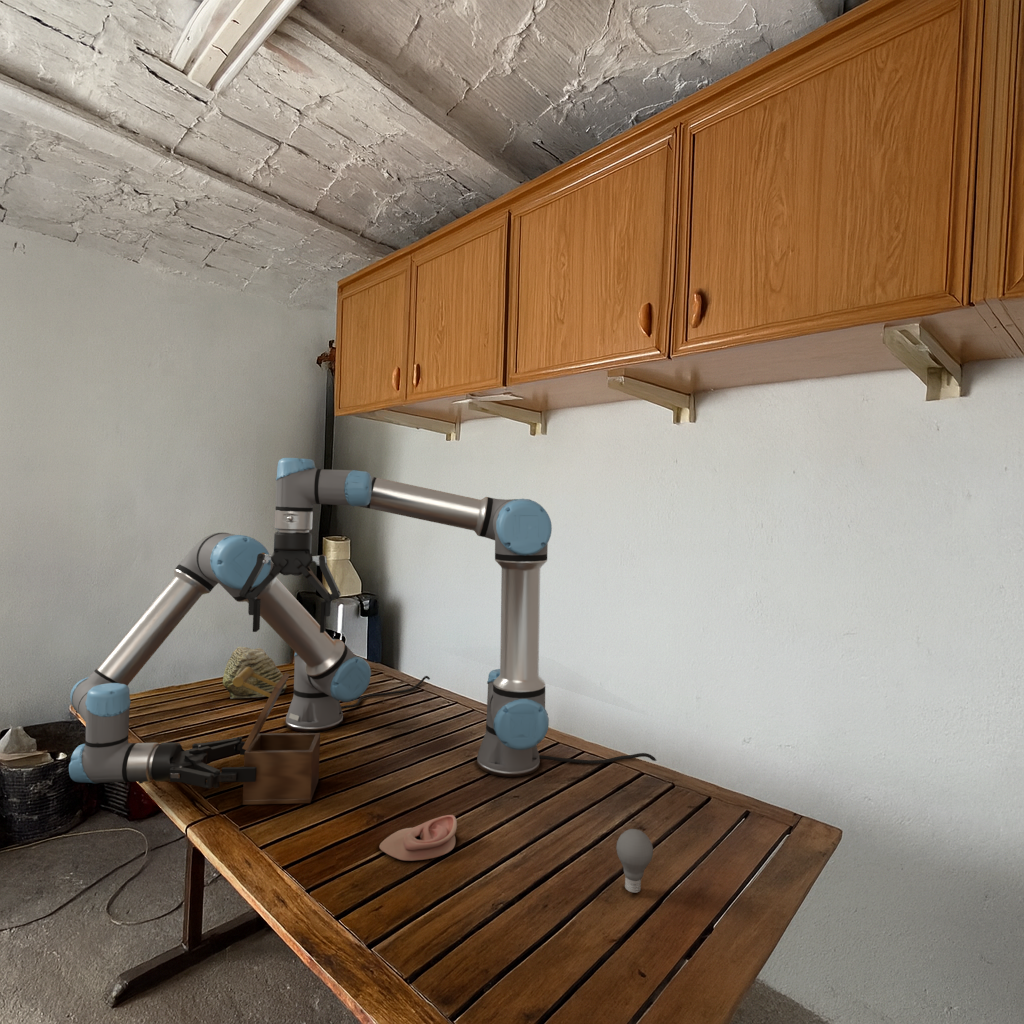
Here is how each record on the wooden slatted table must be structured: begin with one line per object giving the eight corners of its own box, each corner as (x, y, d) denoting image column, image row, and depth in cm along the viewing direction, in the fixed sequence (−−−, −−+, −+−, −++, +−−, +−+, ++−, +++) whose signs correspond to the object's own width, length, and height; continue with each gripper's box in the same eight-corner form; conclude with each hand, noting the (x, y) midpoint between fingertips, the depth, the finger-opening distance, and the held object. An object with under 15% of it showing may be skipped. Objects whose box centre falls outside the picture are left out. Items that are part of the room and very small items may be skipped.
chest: (318, 780, 141) (320, 732, 141) (310, 803, 131) (312, 751, 131) (255, 782, 139) (257, 733, 139) (242, 804, 129) (244, 752, 129)
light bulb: (610, 879, 108) (613, 822, 108) (644, 879, 109) (647, 822, 109) (619, 902, 102) (622, 840, 102) (655, 901, 103) (658, 840, 103)
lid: (290, 674, 140) (251, 656, 138) (279, 688, 129) (237, 669, 128) (259, 731, 139) (220, 714, 138) (246, 750, 129) (204, 732, 128)
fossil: (218, 695, 195) (220, 647, 195) (278, 685, 208) (279, 640, 207) (228, 703, 189) (230, 653, 188) (289, 692, 201) (290, 645, 201)
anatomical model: (372, 833, 112) (397, 803, 124) (372, 855, 112) (396, 824, 124) (444, 845, 110) (462, 813, 121) (443, 867, 110) (462, 834, 121)
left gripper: (179, 755, 144) (276, 754, 147) (129, 809, 119) (247, 806, 122) (180, 722, 144) (277, 722, 147) (130, 769, 119) (248, 767, 122)
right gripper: (225, 530, 128) (222, 634, 129) (351, 534, 132) (347, 635, 132) (236, 528, 136) (233, 626, 136) (355, 532, 140) (351, 628, 140)
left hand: (264, 760), depth 134 cm, fingers open, 13 cm apart
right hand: (289, 631), depth 134 cm, fingers open, 13 cm apart
